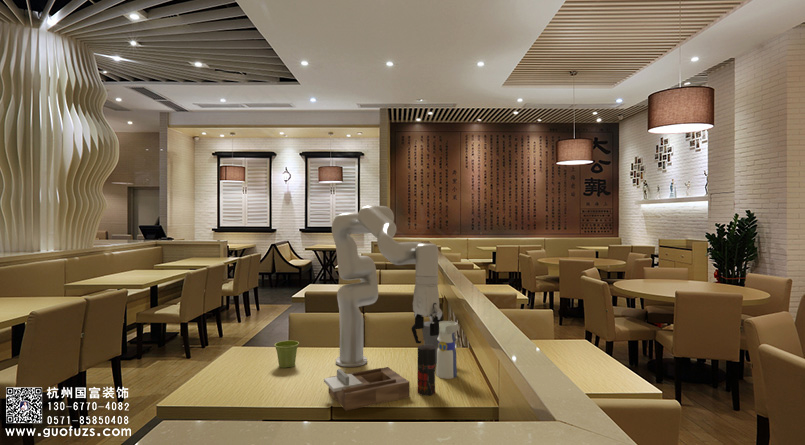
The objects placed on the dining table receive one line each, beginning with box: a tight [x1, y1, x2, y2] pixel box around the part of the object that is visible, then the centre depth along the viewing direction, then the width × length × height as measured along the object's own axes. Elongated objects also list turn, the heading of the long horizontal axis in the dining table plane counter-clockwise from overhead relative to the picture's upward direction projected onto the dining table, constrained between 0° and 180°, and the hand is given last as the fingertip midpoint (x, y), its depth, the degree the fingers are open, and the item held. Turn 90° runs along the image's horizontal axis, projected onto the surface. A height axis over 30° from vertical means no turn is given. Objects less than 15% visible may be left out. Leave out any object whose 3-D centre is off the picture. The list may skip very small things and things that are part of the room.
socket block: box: [328, 366, 410, 412], centre depth 146 cm, size 16×22×6 cm
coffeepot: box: [411, 317, 439, 365], centre depth 181 cm, size 15×9×18 cm, turn 103°
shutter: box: [323, 368, 362, 392], centre depth 142 cm, size 10×10×4 cm
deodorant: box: [416, 344, 436, 397], centre depth 148 cm, size 6×6×15 cm
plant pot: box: [273, 340, 300, 369], centre depth 174 cm, size 9×9×9 cm
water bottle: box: [435, 320, 460, 380], centre depth 164 cm, size 8×9×25 cm
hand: (426, 331), depth 148 cm, fingers open, 9 cm apart
